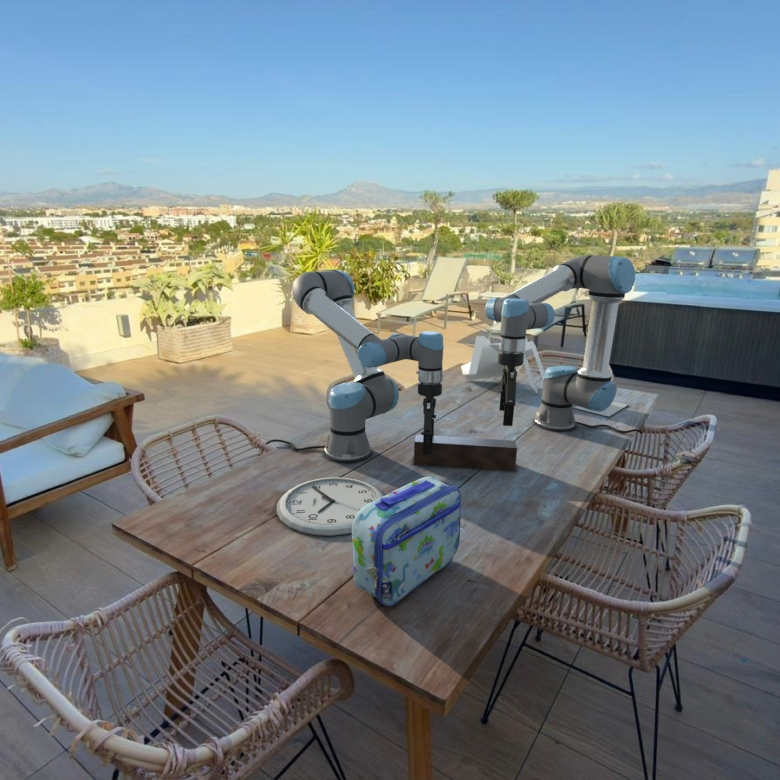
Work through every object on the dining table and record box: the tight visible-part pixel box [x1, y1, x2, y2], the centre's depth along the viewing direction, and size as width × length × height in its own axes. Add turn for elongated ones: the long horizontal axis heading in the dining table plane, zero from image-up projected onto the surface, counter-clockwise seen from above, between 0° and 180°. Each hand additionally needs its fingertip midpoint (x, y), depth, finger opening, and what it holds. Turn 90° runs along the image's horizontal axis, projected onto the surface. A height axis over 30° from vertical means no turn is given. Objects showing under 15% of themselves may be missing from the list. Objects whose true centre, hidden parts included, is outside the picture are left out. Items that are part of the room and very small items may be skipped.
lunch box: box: [351, 476, 462, 607], centre depth 111 cm, size 26×11×21 cm, turn 135°
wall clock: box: [276, 476, 385, 537], centre depth 142 cm, size 30×2×30 cm
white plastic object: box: [460, 335, 545, 394], centre depth 253 cm, size 37×45×31 cm
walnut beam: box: [413, 434, 518, 472], centre depth 168 cm, size 32×6×8 cm, turn 83°
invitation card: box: [573, 400, 629, 418], centre depth 226 cm, size 21×1×15 cm
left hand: (428, 445), depth 168 cm, fingers open, 13 cm apart
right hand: (505, 417), depth 163 cm, fingers open, 13 cm apart
